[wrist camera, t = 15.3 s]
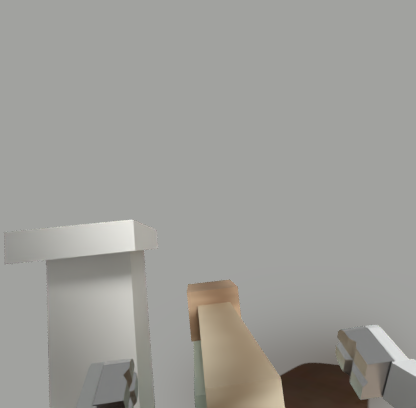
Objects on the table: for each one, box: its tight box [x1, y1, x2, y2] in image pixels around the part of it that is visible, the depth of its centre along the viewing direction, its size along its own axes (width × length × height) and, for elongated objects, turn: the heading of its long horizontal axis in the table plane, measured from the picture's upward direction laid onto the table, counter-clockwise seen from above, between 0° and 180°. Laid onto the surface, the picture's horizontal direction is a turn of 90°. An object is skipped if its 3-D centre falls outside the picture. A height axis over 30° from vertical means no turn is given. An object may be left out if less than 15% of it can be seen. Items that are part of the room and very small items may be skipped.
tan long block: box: [187, 280, 285, 408], centre depth 19 cm, size 4×19×4 cm, turn 4°
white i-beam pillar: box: [4, 220, 158, 408], centre depth 22 cm, size 12×12×26 cm
